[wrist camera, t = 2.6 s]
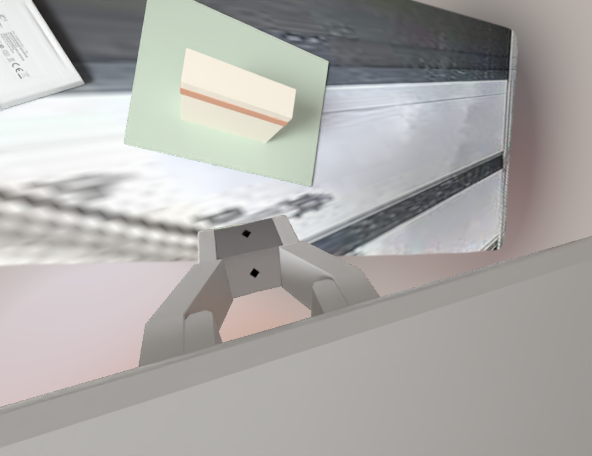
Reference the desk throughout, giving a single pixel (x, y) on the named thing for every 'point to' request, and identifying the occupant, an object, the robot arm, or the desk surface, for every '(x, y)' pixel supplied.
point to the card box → (233, 98)
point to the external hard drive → (30, 56)
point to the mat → (238, 52)
